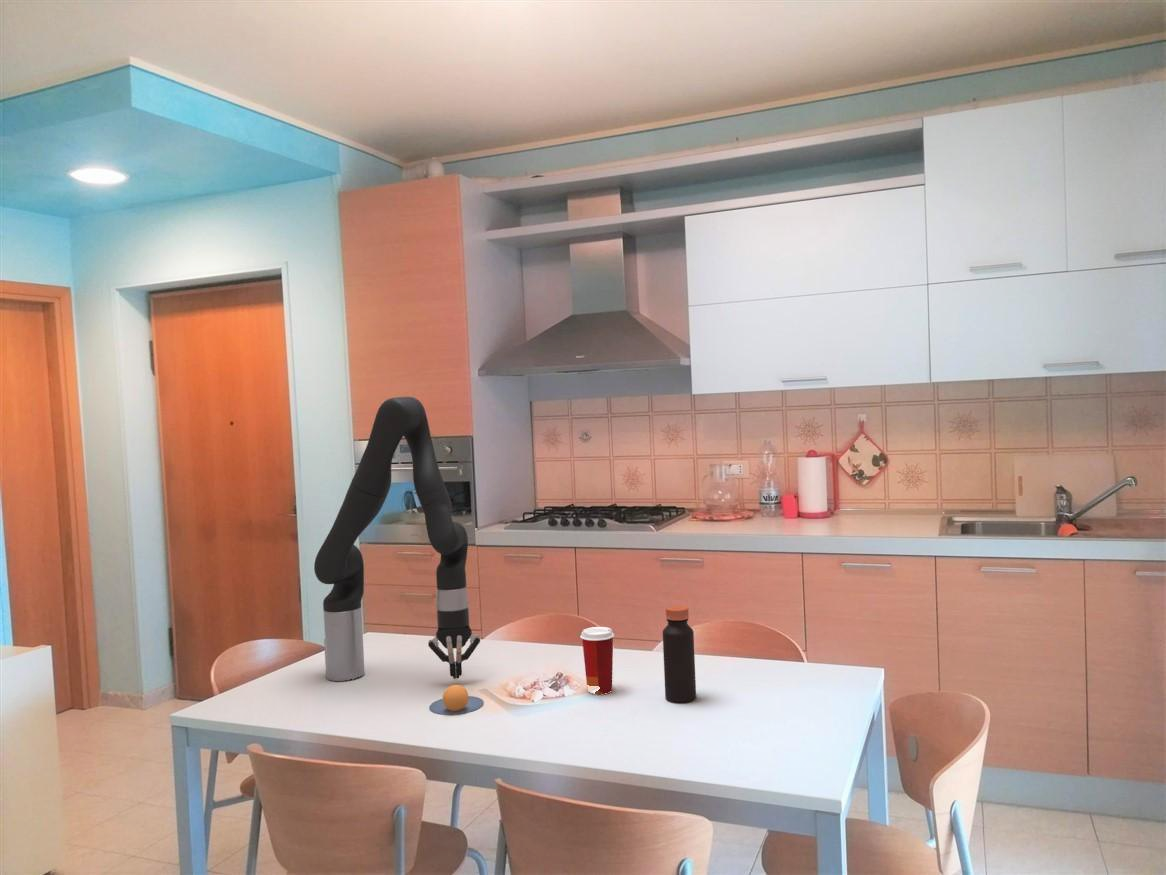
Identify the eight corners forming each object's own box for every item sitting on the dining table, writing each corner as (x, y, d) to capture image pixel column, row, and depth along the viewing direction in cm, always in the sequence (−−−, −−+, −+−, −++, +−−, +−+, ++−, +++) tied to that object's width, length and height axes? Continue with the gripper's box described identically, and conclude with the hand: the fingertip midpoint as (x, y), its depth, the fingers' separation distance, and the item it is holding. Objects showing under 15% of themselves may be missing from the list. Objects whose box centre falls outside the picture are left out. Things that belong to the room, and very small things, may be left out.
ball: (437, 697, 190) (437, 697, 184) (457, 679, 191) (457, 678, 186) (453, 716, 189) (453, 717, 184) (473, 699, 191) (474, 699, 185)
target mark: (418, 707, 191) (418, 706, 191) (461, 693, 200) (461, 692, 200) (451, 718, 183) (451, 717, 183) (494, 703, 191) (494, 702, 191)
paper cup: (617, 685, 200) (614, 625, 200) (615, 696, 193) (612, 634, 192) (584, 686, 201) (581, 626, 201) (580, 696, 193) (578, 634, 193)
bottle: (695, 704, 185) (691, 611, 185) (663, 703, 187) (659, 611, 186) (697, 693, 192) (693, 604, 191) (667, 693, 193) (663, 604, 193)
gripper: (479, 600, 211) (483, 670, 212) (425, 605, 209) (428, 675, 210) (480, 607, 204) (484, 679, 204) (424, 611, 202) (427, 684, 202)
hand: (456, 677), depth 207 cm, fingers closed
